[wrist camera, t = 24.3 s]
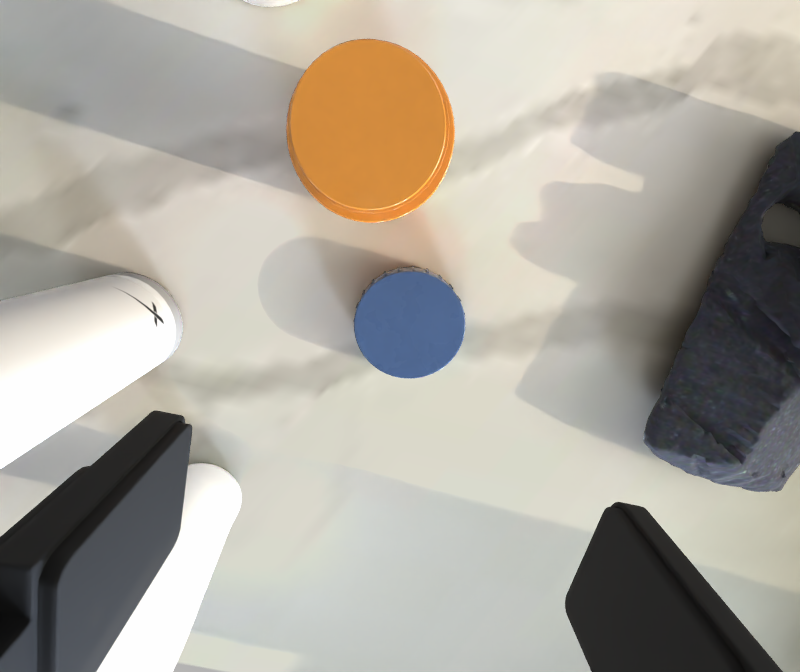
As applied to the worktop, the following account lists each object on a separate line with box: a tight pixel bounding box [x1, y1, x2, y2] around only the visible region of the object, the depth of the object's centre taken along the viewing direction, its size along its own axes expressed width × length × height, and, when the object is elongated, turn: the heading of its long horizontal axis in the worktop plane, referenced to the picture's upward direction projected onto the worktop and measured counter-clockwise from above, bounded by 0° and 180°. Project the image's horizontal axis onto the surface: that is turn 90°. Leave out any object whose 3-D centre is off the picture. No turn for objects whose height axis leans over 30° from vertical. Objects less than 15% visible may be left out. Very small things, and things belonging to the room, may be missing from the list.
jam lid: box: [354, 266, 465, 378], centre depth 28 cm, size 7×7×2 cm
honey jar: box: [286, 39, 455, 223], centre depth 21 cm, size 7×7×11 cm
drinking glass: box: [97, 463, 242, 672], centre depth 25 cm, size 7×7×15 cm
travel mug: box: [0, 272, 183, 469], centre depth 19 cm, size 6×7×20 cm
